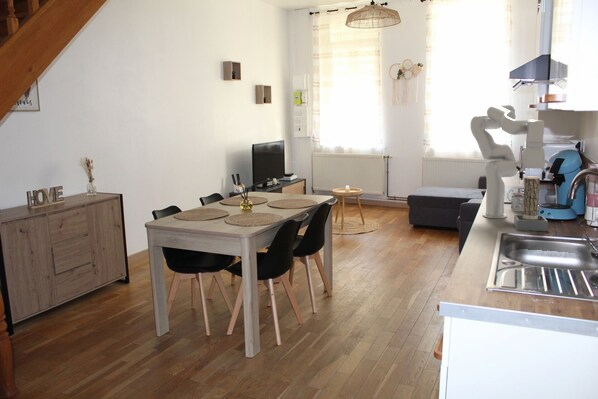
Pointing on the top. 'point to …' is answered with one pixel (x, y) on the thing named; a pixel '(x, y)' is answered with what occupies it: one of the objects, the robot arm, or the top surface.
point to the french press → (517, 198)
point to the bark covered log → (531, 198)
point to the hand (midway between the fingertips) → (532, 179)
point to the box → (530, 223)
